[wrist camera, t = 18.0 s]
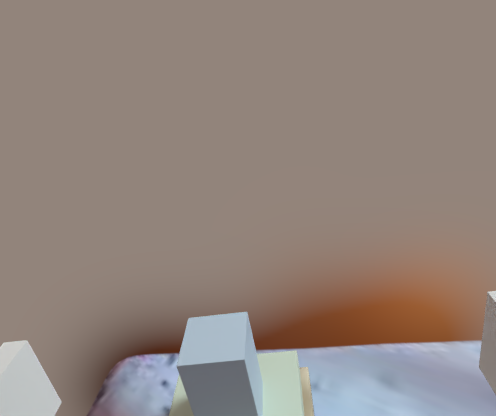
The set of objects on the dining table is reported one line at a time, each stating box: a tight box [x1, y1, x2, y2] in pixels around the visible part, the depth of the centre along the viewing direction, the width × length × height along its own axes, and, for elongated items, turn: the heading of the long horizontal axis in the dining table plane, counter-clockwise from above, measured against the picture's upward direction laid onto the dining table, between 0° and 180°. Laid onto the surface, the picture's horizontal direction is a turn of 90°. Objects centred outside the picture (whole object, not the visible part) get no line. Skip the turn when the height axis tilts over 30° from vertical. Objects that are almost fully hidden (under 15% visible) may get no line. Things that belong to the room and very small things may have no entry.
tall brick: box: [177, 312, 263, 416], centre depth 38 cm, size 6×6×10 cm
